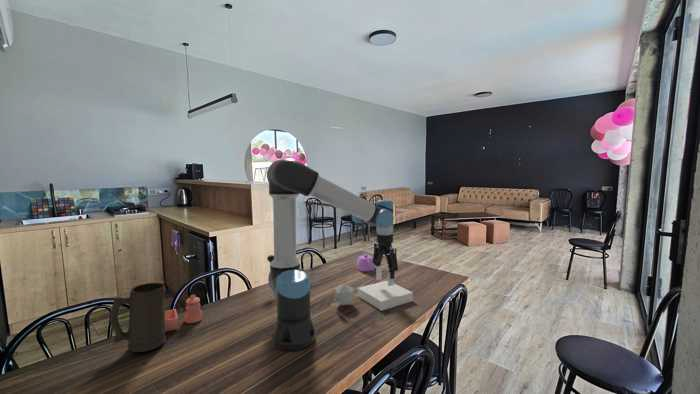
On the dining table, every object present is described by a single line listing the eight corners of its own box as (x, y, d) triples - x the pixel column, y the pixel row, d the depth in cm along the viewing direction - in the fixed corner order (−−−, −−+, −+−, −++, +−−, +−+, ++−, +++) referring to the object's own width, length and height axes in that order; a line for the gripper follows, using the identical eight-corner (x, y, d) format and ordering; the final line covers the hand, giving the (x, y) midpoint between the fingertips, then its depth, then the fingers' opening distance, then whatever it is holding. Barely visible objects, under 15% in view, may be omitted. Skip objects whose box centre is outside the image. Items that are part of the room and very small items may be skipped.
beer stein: (161, 332, 109) (158, 279, 107) (173, 342, 102) (170, 285, 101) (108, 351, 97) (104, 292, 95) (118, 364, 90) (114, 301, 89)
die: (332, 303, 132) (331, 281, 132) (350, 300, 135) (350, 278, 135) (337, 311, 124) (337, 288, 124) (357, 308, 127) (357, 285, 127)
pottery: (148, 336, 105) (147, 308, 105) (148, 325, 113) (147, 300, 112) (204, 322, 115) (203, 297, 115) (200, 313, 123) (200, 290, 123)
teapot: (360, 275, 169) (360, 258, 168) (354, 268, 182) (354, 252, 181) (385, 273, 172) (385, 256, 171) (377, 266, 185) (377, 251, 184)
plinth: (381, 310, 125) (381, 301, 124) (357, 296, 140) (357, 287, 140) (412, 300, 134) (412, 292, 134) (387, 288, 149) (387, 280, 149)
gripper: (406, 236, 128) (406, 287, 130) (377, 229, 145) (377, 274, 147) (393, 238, 124) (393, 291, 126) (365, 230, 142) (365, 277, 143)
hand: (384, 282), depth 136 cm, fingers open, 8 cm apart
